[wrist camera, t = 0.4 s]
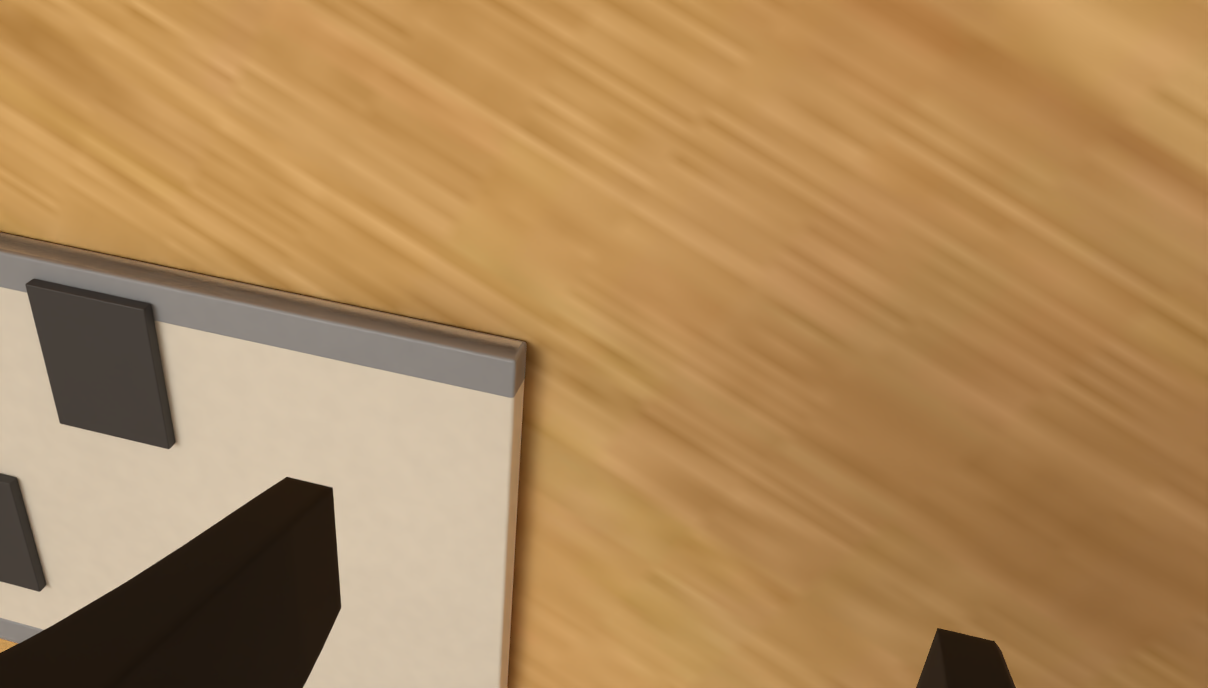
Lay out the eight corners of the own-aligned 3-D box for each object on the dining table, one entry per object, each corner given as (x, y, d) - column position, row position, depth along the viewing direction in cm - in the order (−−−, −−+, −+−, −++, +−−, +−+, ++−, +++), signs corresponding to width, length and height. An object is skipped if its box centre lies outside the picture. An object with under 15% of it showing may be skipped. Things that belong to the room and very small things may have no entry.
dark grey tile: (176, 442, 26) (169, 450, 26) (67, 417, 26) (59, 424, 26) (151, 303, 24) (144, 309, 23) (33, 277, 24) (24, 283, 24)
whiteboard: (504, 751, 30) (495, 776, 30) (-100, 587, 34) (-121, 606, 33) (527, 341, 23) (515, 361, 22) (-255, 177, 26) (-287, 191, 25)
